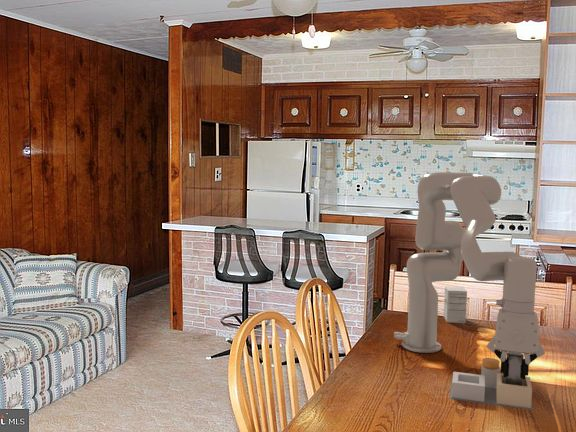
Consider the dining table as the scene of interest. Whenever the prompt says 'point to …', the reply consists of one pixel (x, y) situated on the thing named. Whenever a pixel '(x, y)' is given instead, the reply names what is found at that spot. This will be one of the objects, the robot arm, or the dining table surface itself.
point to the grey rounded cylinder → (514, 368)
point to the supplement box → (455, 304)
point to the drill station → (491, 389)
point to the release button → (490, 363)
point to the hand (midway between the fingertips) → (514, 375)
